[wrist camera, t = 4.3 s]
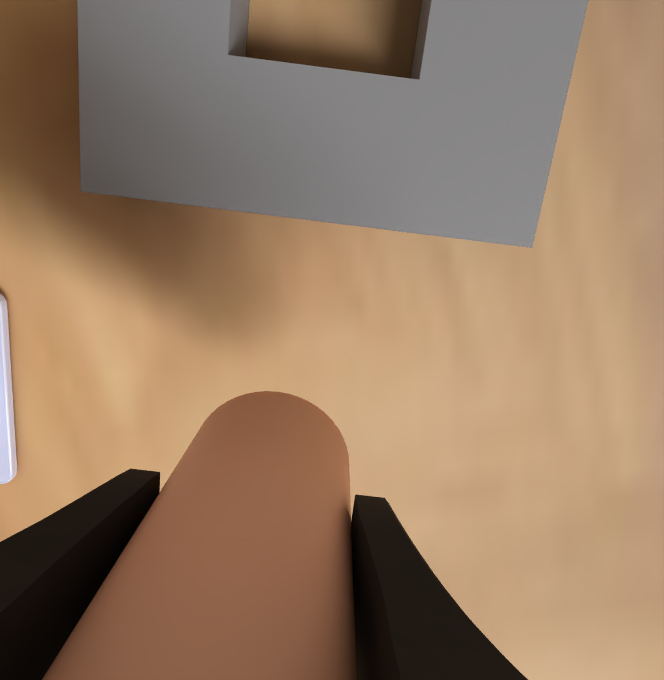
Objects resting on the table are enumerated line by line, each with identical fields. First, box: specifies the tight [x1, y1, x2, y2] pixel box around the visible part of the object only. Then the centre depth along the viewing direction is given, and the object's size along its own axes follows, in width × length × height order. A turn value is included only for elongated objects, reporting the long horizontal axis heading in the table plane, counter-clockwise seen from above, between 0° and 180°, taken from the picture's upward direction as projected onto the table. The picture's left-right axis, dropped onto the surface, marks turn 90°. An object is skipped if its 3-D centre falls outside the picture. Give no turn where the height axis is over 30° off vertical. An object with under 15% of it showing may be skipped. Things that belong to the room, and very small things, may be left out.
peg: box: [42, 391, 357, 680], centre depth 8 cm, size 4×4×8 cm
